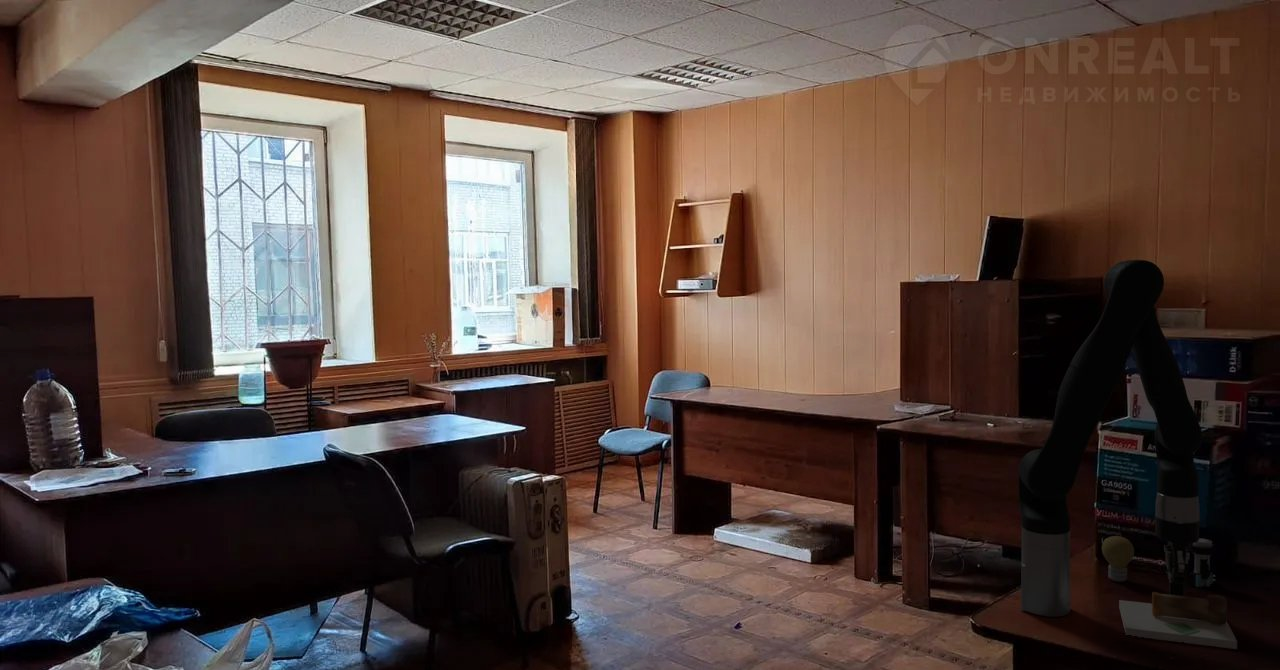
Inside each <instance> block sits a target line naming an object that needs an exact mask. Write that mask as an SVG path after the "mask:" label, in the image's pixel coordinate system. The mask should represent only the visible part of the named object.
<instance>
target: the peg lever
mask: <svg viewBox="0 0 1280 670" xmlns="http://www.w3.org/2000/svg"><path fill="white" fill-rule="evenodd" d="M1227 601H1228V600H1227V598H1226V597H1225V596H1223V595H1219V594H1207V595H1206V598H1205V597H1195V596H1186V595H1183V596H1179V595H1169V593H1168V594H1167V593H1160V592H1157V591H1152V593H1151V604H1152V614H1153V616H1167V617H1176V618H1184V619H1193V620H1202V621H1209V622H1211V623H1215V624H1225V623H1226V621H1227V609H1228V608H1227V607H1228V604H1227V603H1228V602H1227Z"/></svg>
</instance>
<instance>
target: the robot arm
mask: <svg viewBox="0 0 1280 670" xmlns="http://www.w3.org/2000/svg"><path fill="white" fill-rule="evenodd" d="M1103 283H1104V290H1105V291H1106V294H1107V296H1108V299H1107V301H1106V303H1105V306H1104V309H1103V311H1102V314H1101V316H1100V319H1099V320H1098V322H1097V324H1096V325H1095V327H1094V328H1093V330H1092V331H1090V333H1089V335H1088V336H1087V338H1086V339H1085V340H1084V341H1083V343H1082V344H1081V345H1080V347H1079V348H1078V350H1077V351H1076V353H1075V355H1074V356H1073V358H1072V359H1071V361H1070V364H1069V366H1068V368H1067V370H1066V372H1065V374H1064V376H1063V379H1062V381H1061V383H1060V386H1059V390H1058V393H1057V399H1056V405H1055V408H1054V416H1053V421H1052V425H1051V428H1050V431H1049V433H1048V435H1047V437H1046V439H1045V442H1044V443H1043V446H1042V447H1041V448H1037V449H1033V450H1031V451H1028V453H1026V454H1025V455H1024V456H1023V457H1022V459H1021V460H1020V463H1019V466H1018V507H1019V513H1020V519H1021V520H1020V521H1021V523H1020V525H1021V560H1020V561H1021V563H1020V564H1021V565H1020V574H1021V575H1020V580H1021V581H1020V582H1021V583H1020V586H1021V587H1020V589H1021V591H1020V594H1021V596H1020V599H1021V600H1020V607H1021V608H1020V610H1021V611H1023V612H1028V613H1030V614H1033V615H1037V616H1041V617H1052V618H1053V617H1054V618H1057V617H1064V616H1067V615H1068V614H1070V612H1071V517H1070V514H1069V510H1068V509H1069V508H1068V505H1067V504H1068V503H1067V494H1069V493H1070V491H1071V490H1072V489H1073V487H1074V485H1075V483H1076V479H1077V476H1078V473H1079V470H1080V467H1081V463H1082V461H1083V457H1084V455H1085V451H1086V448H1087V446H1088V444H1089V441H1090V439H1091V437H1092V435H1093V434H1094V432H1095V430H1096V429H1097V426H1098V424H1099V422H1100V420H1101V418H1102V416H1103V413H1104V412H1105V409H1106V407H1107V405H1108V403H1109V402H1110V399H1111V398H1112V396H1113V393H1114V391H1115V389H1116V387H1117V384H1118V382H1119V380H1120V377H1121V375H1122V373H1123V370H1124V368H1125V367H1126V366H1125V365H1126V363H1127V361H1128V359H1129V356H1130V354H1131V351H1132V354H1133V357H1134V360H1135V364H1136V368H1137V371H1138V375H1139V377H1140V381H1141V385H1142V387H1143V391H1144V393H1145V398H1146V399H1147V400H1146V401H1148V404H1149V406H1150V407H1151V408H1152V410H1153V412H1154V415H1155V419H1156V421H1157V422H1156V423H1157V424H1156V426H1155V428H1154V446H1155V447H1154V448H1155V455H1156V461H1157V476H1156V477H1157V479H1156V480H1157V483H1156V484H1157V485H1156V486H1157V487H1156V491H1157V492H1156V499H1155V516H1154V517H1155V521H1154V523H1155V524H1154V525H1155V527H1154V528H1155V529H1154V530H1155V531H1154V533H1155V534H1154V535H1155V537H1157V538H1158V539H1159V540H1161V541H1164V542H1167V545H1165V544H1164V545H1163V552H1164V553H1165V566H1166V573H1167V578H1168V581H1169V585H1168V586H1169V593H1168V594H1169V595H1179V596H1184V585H1186V584H1187V580H1188V577H1189V569H1190V565H1189V560H1190V559H1191V558H1190V552H1191V551H1190V550H1189V549H1188V546H1187V545H1188V544H1189V543H1195V542H1197V541H1198V540H1199V538H1200V511H1201V510H1200V509H1201V508H1200V501H1199V500H1200V499H1199V473H1198V470H1197V467H1196V465H1195V457H1194V453H1196V452H1197V451H1199V449H1200V448H1201V446H1202V443H1203V437H1204V436H1203V431H1202V428H1201V425H1200V422H1199V419H1198V418H1197V415H1196V413H1195V410H1194V408H1193V406H1192V404H1191V402H1190V400H1189V397H1188V393H1187V389H1186V386H1185V382H1184V379H1183V375H1182V371H1181V369H1180V366H1179V363H1178V361H1177V358H1176V357H1175V354H1174V352H1173V350H1172V348H1171V346H1170V344H1169V342H1168V340H1167V339H1166V336H1165V335H1164V332H1163V330H1162V329H1161V325H1160V323H1159V319H1158V317H1157V313H1156V308H1155V304H1156V303H1157V302H1158V300H1159V298H1160V297H1161V295H1162V293H1163V290H1164V286H1165V278H1164V274H1163V271H1162V270H1161V269H1160V267H1159V266H1158V265H1157V264H1155V263H1154V262H1152V261H1149V260H1145V259H1132V260H1131V259H1128V260H1123V261H1120V262H1117V263H1115V264H1114V265H1112V266H1111V267H1110V268H1109V269H1108V271H1107V272H1106V274H1105V277H1104V282H1103Z"/></svg>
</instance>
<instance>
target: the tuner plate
mask: <svg viewBox="0 0 1280 670" xmlns="http://www.w3.org/2000/svg"><path fill="white" fill-rule="evenodd" d="M1118 603H1119V604H1118V608H1119V612H1120V616H1121V620H1122V621H1121V622H1122V624H1123V628H1124V629H1125V630H1124V633H1126V634H1125V636H1126V635H1132V636H1131V637H1134V636H1137V638H1142V637H1144V638H1143V639H1150V638H1151V639H1152V640H1159V641H1166V640H1167V642H1168V641H1169V642H1174V641H1175V643H1182V642H1184V644H1191V645H1198V646H1208V647H1214V646H1215V648H1224V649H1230V650H1231V649H1232V650H1237V649H1238V640H1237V638H1236V636H1235V634H1234V633H1233V630H1232V629H1231V627H1230V624H1229V623H1228V621H1227V620H1226V623H1225V624H1215V623H1211V622H1209V621H1202V620H1193V619H1184V618H1176V617H1167V616H1153V614H1152V602H1151V603H1149V602H1142V601H1131V600H1123V599H1119V600H1118Z"/></svg>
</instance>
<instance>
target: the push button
mask: <svg viewBox="0 0 1280 670" xmlns="http://www.w3.org/2000/svg"><path fill="white" fill-rule="evenodd" d="M1187 547H1188V551H1189V552H1191V553H1192V554H1194V567H1193V571H1192V572H1188V584H1189V585H1191V586H1192V585H1193V587H1195V586H1196V588H1198V587H1200V588H1202V587H1201V586H1204V587H1207V586H1208V587H1211V585H1210V584H1212V583H1214V582H1215V581H1216V579H1214V578H1215V577H1216V575H1215V574H1214V573H1213V572H1211V569H1210V566H1211V565H1210V564H1211V563H1210V562H1211V560H1210V559H1211V556H1213V555H1215V554H1216V551H1217V548H1218V546H1217V545H1215V544H1214V543H1213V541H1212V540H1210V539H1207V538H1204V537H1203V538H1201V537H1199V540H1198V541H1197V542H1195V543H1189V544H1187ZM1205 585H1206V586H1205ZM1212 585H1213V584H1212Z"/></svg>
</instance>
